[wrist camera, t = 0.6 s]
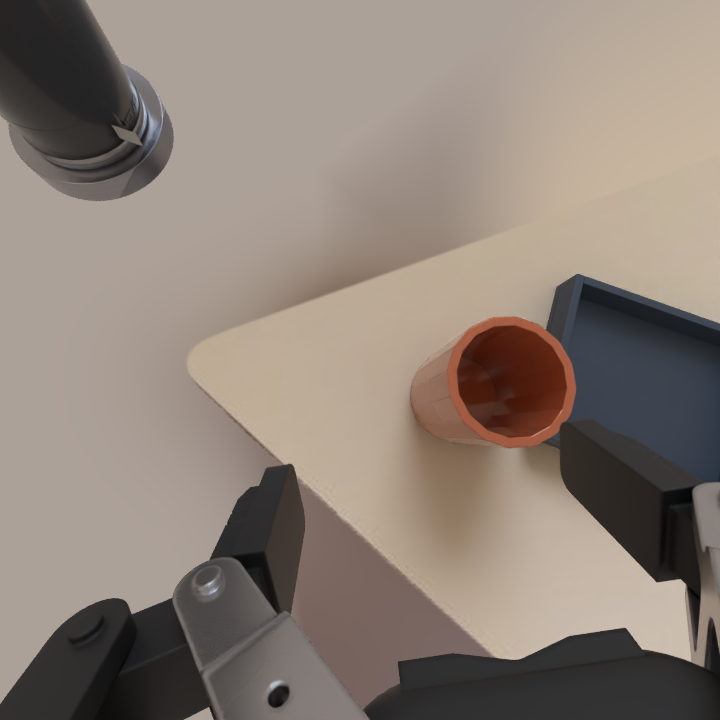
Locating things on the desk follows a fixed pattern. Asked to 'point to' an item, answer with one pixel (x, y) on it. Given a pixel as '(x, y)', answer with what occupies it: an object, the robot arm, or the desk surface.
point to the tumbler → (496, 386)
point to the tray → (642, 371)
